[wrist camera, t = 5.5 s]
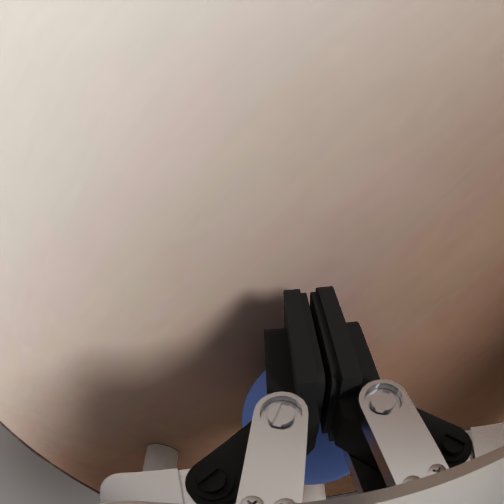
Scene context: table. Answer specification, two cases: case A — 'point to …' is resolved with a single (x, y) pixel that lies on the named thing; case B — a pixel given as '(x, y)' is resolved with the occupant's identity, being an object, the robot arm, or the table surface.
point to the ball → (319, 459)
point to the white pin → (314, 493)
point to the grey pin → (160, 458)
